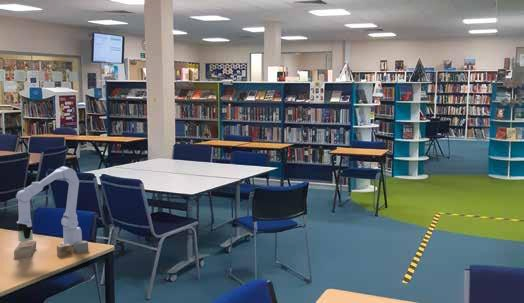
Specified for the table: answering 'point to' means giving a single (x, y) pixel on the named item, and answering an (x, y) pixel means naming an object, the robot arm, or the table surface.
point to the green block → (22, 238)
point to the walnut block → (63, 249)
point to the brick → (25, 249)
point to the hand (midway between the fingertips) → (25, 237)
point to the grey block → (81, 246)
